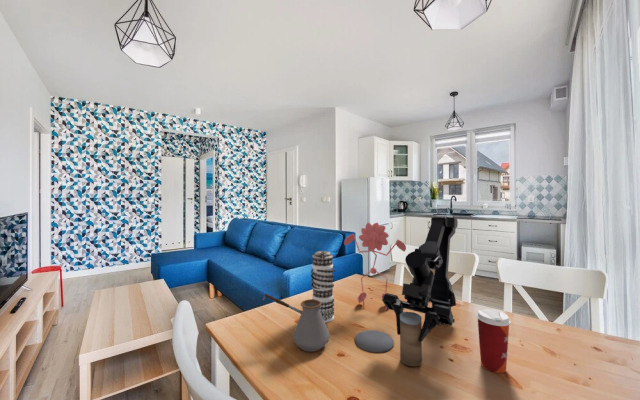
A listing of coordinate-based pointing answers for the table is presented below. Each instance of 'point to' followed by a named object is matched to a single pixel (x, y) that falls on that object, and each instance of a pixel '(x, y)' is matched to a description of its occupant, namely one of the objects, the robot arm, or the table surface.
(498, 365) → the paper cup
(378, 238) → the figurine
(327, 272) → the decorative candle
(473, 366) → the table surface
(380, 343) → the felt mat
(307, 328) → the coffee pot
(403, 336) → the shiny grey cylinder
